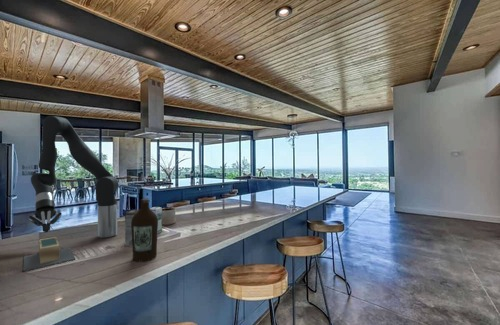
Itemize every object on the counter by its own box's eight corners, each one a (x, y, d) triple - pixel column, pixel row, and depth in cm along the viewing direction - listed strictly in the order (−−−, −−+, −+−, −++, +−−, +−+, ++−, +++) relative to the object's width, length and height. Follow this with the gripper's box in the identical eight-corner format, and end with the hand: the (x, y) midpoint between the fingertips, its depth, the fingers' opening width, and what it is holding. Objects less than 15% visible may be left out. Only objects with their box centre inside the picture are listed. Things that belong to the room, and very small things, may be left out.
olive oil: (134, 253, 107) (134, 198, 107) (159, 251, 109) (159, 197, 109) (128, 263, 96) (128, 201, 96) (156, 260, 99) (155, 200, 99)
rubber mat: (24, 257, 103) (24, 256, 103) (70, 248, 114) (70, 247, 114) (23, 271, 89) (23, 270, 89) (75, 259, 100) (75, 258, 100)
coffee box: (132, 239, 126) (131, 209, 126) (144, 239, 126) (144, 209, 127) (124, 245, 117) (124, 213, 117) (137, 245, 117) (137, 212, 117)
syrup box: (156, 234, 136) (156, 208, 136) (147, 233, 137) (147, 208, 137) (162, 231, 142) (162, 207, 142) (153, 230, 143) (153, 206, 143)
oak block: (39, 239, 107) (40, 248, 95) (56, 236, 111) (59, 245, 99) (39, 252, 107) (40, 263, 95) (56, 249, 111) (59, 259, 99)
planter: (155, 225, 156) (155, 210, 156) (163, 221, 167) (163, 207, 167) (170, 225, 155) (170, 211, 155) (178, 221, 165) (178, 207, 165)
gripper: (27, 199, 117) (27, 229, 108) (61, 197, 126) (64, 224, 117) (27, 209, 121) (27, 238, 112) (60, 205, 130) (63, 233, 121)
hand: (46, 231), depth 114 cm, fingers closed
